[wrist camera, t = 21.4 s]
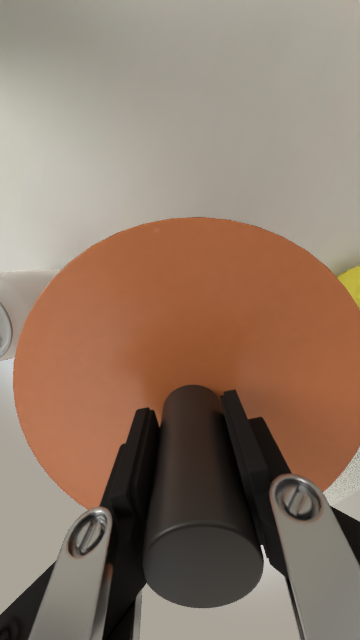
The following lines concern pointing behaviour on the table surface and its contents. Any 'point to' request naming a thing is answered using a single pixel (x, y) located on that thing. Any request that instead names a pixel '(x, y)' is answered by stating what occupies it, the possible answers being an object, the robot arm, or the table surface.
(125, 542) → the robot arm
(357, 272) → the lemon
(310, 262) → the lid
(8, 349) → the can
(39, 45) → the table surface
